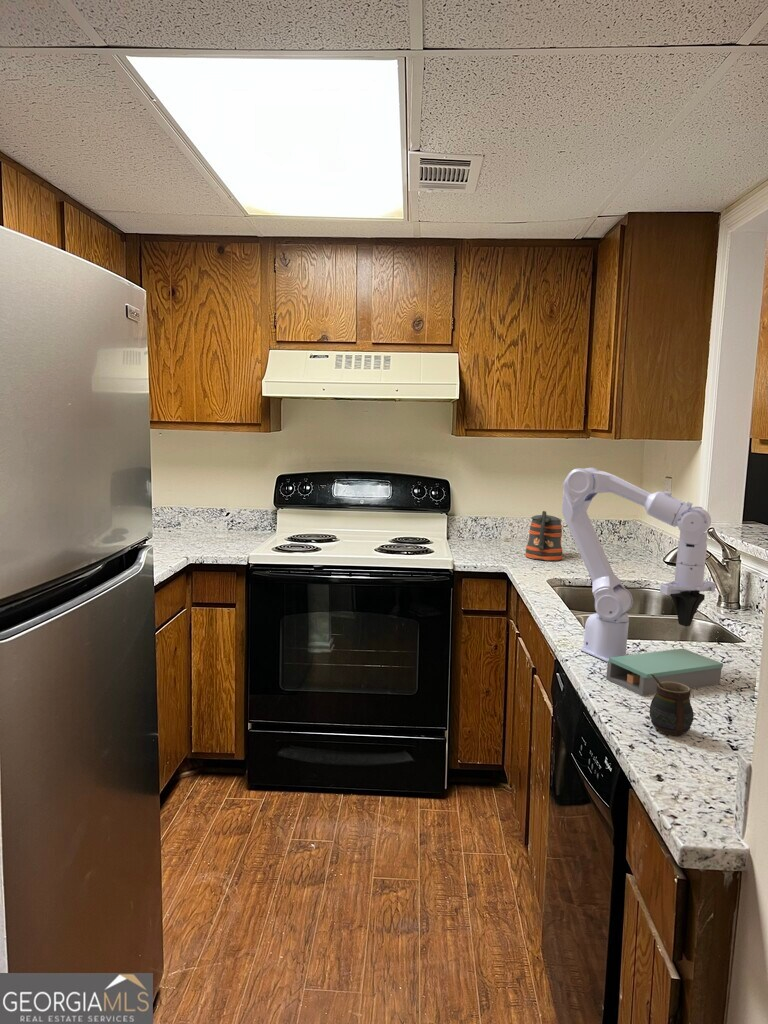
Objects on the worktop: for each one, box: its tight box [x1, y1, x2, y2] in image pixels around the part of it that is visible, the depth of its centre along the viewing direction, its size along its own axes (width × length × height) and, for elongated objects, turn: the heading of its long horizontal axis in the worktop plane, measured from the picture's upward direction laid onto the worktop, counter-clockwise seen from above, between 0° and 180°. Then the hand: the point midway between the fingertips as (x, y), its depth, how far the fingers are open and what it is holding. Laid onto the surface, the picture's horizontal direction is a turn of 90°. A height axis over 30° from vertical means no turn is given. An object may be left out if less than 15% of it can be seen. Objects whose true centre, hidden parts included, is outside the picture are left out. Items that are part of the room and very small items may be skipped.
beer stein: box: [525, 510, 563, 562], centre depth 291 cm, size 19×15×20 cm
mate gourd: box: [649, 674, 695, 737], centre depth 128 cm, size 7×8×10 cm
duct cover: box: [609, 648, 724, 678], centre depth 153 cm, size 10×22×1 cm, turn 116°
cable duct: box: [605, 662, 723, 697], centre depth 154 cm, size 11×22×4 cm, turn 116°
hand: (684, 625), depth 160 cm, fingers closed
